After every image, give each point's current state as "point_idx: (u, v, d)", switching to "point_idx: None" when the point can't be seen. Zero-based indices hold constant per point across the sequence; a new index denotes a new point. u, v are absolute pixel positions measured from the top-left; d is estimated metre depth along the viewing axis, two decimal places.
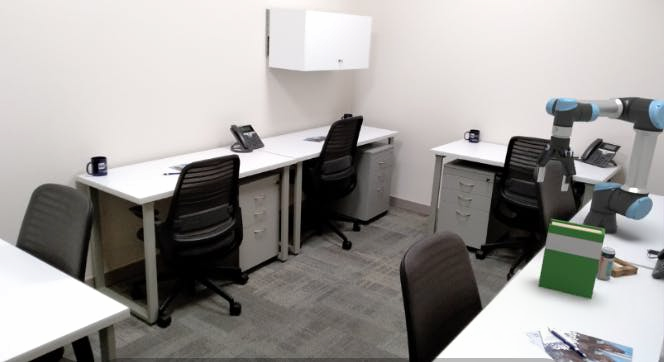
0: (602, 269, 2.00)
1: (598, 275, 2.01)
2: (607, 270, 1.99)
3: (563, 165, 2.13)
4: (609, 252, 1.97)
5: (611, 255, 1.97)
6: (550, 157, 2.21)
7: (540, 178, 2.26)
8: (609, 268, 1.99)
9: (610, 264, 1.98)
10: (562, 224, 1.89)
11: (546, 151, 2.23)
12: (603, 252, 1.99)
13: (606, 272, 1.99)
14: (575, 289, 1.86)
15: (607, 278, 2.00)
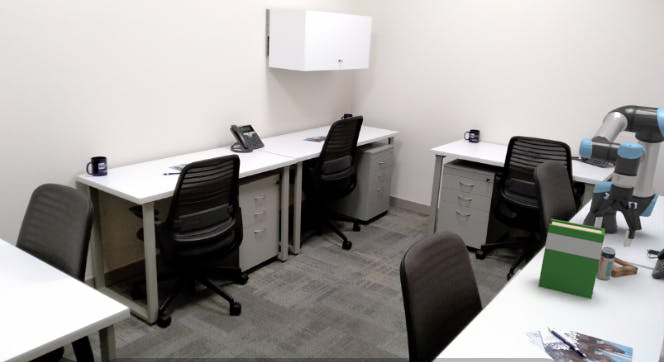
0: (602, 269, 2.00)
1: (598, 275, 2.01)
2: (607, 270, 1.99)
3: (626, 218, 1.90)
4: (609, 252, 1.97)
5: (611, 255, 1.97)
6: (609, 207, 1.98)
7: None
8: (609, 268, 1.99)
9: (610, 264, 1.98)
10: (562, 224, 1.89)
11: (604, 200, 2.00)
12: (603, 252, 1.99)
13: (606, 272, 1.99)
14: (575, 289, 1.86)
15: (607, 278, 2.00)
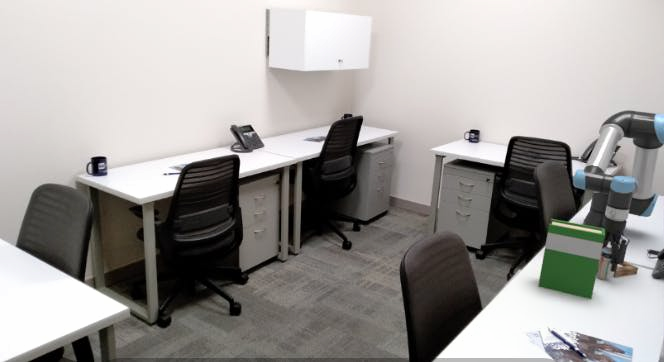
0: (602, 269, 2.00)
1: (598, 275, 2.01)
2: (607, 270, 1.99)
3: (613, 251, 1.96)
4: (609, 252, 1.97)
5: None
6: (606, 241, 2.00)
7: None
8: None
9: None
10: (562, 224, 1.89)
11: None
12: (603, 252, 1.99)
13: (606, 272, 1.99)
14: (575, 289, 1.86)
15: None
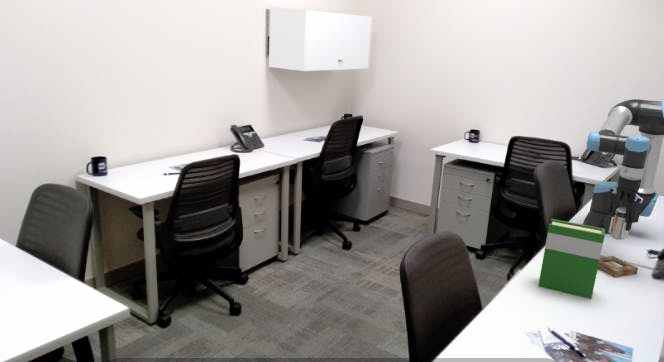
0: (617, 229, 2.02)
1: (613, 235, 2.04)
2: None
3: (627, 210, 1.98)
4: (623, 211, 2.00)
5: (625, 214, 2.00)
6: (620, 201, 2.02)
7: None
8: None
9: None
10: (562, 224, 1.89)
11: (614, 195, 2.05)
12: (618, 212, 2.01)
13: (621, 231, 2.02)
14: (575, 289, 1.86)
15: None
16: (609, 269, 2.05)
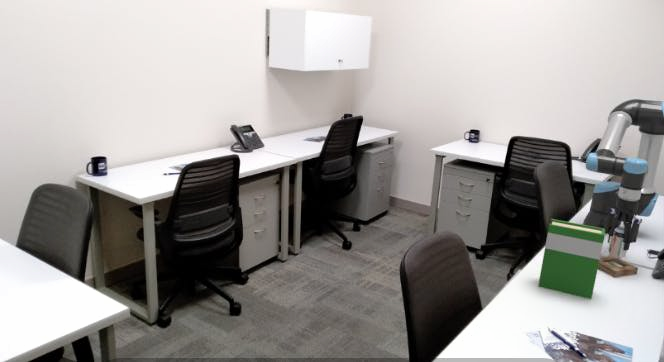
0: (615, 248, 2.07)
1: (611, 254, 2.08)
2: None
3: (625, 230, 2.03)
4: (621, 231, 2.04)
5: (623, 234, 2.04)
6: (618, 221, 2.07)
7: None
8: None
9: None
10: (562, 224, 1.89)
11: (612, 215, 2.09)
12: (616, 232, 2.06)
13: (619, 251, 2.06)
14: (575, 289, 1.86)
15: None
16: (609, 269, 2.05)
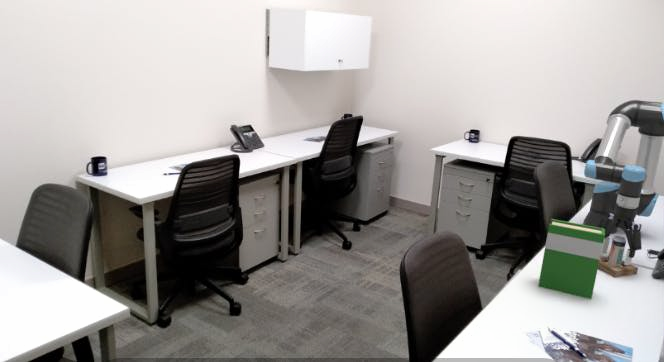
0: (613, 257, 2.08)
1: (609, 263, 2.09)
2: (618, 258, 2.07)
3: (628, 238, 2.02)
4: (620, 240, 2.05)
5: (622, 243, 2.05)
6: (615, 227, 2.09)
7: (603, 250, 2.14)
8: (620, 256, 2.07)
9: (621, 252, 2.06)
10: (562, 224, 1.89)
11: (609, 220, 2.11)
12: (614, 240, 2.07)
13: (617, 260, 2.07)
14: (575, 289, 1.86)
15: (618, 266, 2.08)
16: (609, 269, 2.05)
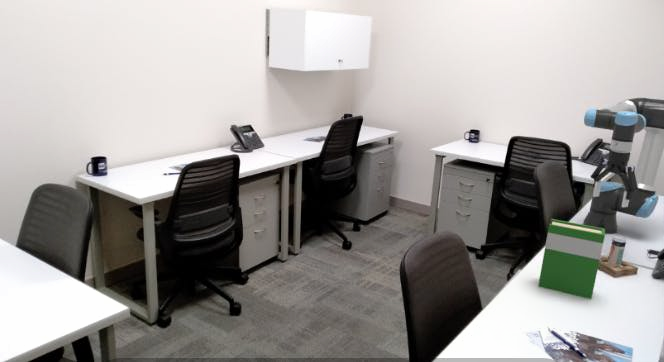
0: (613, 257, 2.08)
1: (609, 263, 2.09)
2: (618, 258, 2.07)
3: (624, 181, 2.07)
4: (620, 240, 2.05)
5: (622, 243, 2.05)
6: (607, 172, 2.14)
7: (596, 193, 2.20)
8: (620, 256, 2.07)
9: (621, 252, 2.06)
10: (562, 224, 1.89)
11: (603, 165, 2.16)
12: (614, 241, 2.07)
13: (617, 260, 2.07)
14: (575, 289, 1.86)
15: (618, 266, 2.08)
16: (609, 269, 2.05)
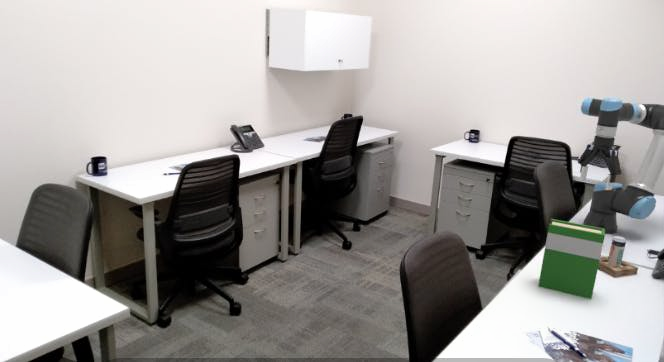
0: (613, 257, 2.08)
1: (609, 263, 2.09)
2: (618, 258, 2.07)
3: (608, 164, 2.16)
4: (620, 240, 2.05)
5: (622, 243, 2.05)
6: (593, 156, 2.24)
7: (582, 177, 2.29)
8: (620, 256, 2.07)
9: (621, 252, 2.06)
10: (562, 224, 1.89)
11: (589, 151, 2.26)
12: (614, 241, 2.07)
13: (617, 260, 2.07)
14: (575, 289, 1.86)
15: (618, 266, 2.08)
16: (609, 269, 2.05)
